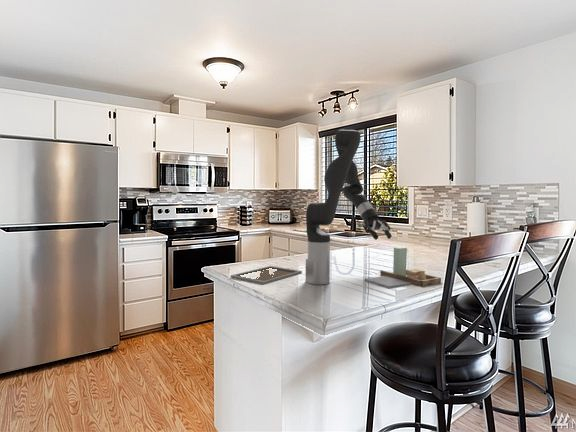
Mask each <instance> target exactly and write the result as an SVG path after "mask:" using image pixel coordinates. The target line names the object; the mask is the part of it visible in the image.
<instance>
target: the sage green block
mask: <svg viewBox="0 0 576 432" xmlns="http://www.w3.org/2000/svg"><path fill="white" fill-rule="evenodd" d="M407 257H408V248H407V247H404V246H399V247H398V246H397V247H393V262H392V263H393V268H392V269H393V270H392V273H394V274H398V275H402V276H406V277H407V275H406V270H407Z"/></svg>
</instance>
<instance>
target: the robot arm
mask: <svg viewBox="0 0 576 432" xmlns="http://www.w3.org/2000/svg"><path fill="white" fill-rule="evenodd" d="M361 137H362V136H361V132H360V131H358V130H355V129H339V130H337V131H336V133H335V137H334V144H335V148H336V152H337V154H338V155H337V156H338V157H336V158H335V159H333V160H332V161H331V162H330V163H329V165H328V166H327V169H326V171H325V174H324V181H323V182H324V184H325V185H324V186H325V188H326V190H327V193H328V194H327V199H326V200H325V202H310V203H309V204H307V207H306V212H305V219H306V220H305V221H306V222H305V223H306V235H307V258H306V259H305V283H308V284H311V285H328V284H330V280H331V277H330V276H331V271H330V270H331V269H330V268H331V265H330V263H331V235H330V234H329V233H327V232H325V231H324V230H322V228H321V227H320V226H330V225H331V224H333V221H334V219H335V217H336V214H337V213H336V212H337V209H338V204H339V201H340V196H341V194H343V196H344V198H346V199H347V200H348V201H350V202H351V203H352V205H353V206H354V207H355V209H356V210H357V212H358V214H359V216H360V217H361V219H362V220H363V222H362V223H361V225H362V227H363V229H364V231H365V232H366V234H368V233H369V234H370V235H371V236H372V238H373V239H374V240H376V241H377V240H378V239H379V235H378V234H377V232H376V230H377V231H380V232H383V233H384V235H385V236H386V238H387V239H388V240H390V239H391V238H392V237H393V236H392V234H391V232H390V230H391V227H390V225H389V224H388V222H387V221H386V219H383V220H380V217H379V214H378V213H377V211H376V210H375V208H374V207H373V204H371V203H370V201H369V200H368V199H367V197H366V196H365V195H364V194H362V193H363V192H364V187H363V185H362V182H361V181H360V178H359V171H358V167H357V164H356V163H355V161H354V158H355V155H356V153H357V151H358V149H359V147H360V144H361V139H362V138H361ZM345 183H346V184H345ZM344 185H345V186H344Z"/></svg>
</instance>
